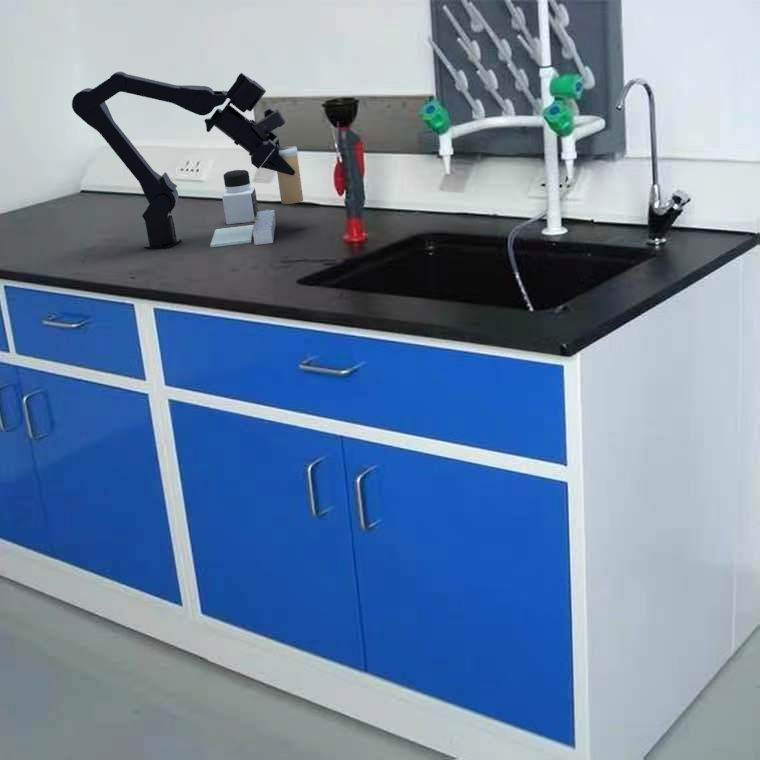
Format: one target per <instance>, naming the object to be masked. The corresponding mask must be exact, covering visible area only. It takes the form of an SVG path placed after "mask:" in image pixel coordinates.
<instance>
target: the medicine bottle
mask: <svg viewBox="0 0 760 760" xmlns="http://www.w3.org/2000/svg"><path fill="white" fill-rule="evenodd" d="M249 173H250V172H249V171H248V170H245V169H233V170H228V171H226V172H225V173H223V182H224V188H225V191H224V192H223V194H222V196H221V197H222V204H223V210H224V217H225V224H226V225H235V224H236V225H237V224H244V223H245V224H246V223H247V224H248V223H253V222H254V223H255V220H256V215H257V212H259V208H258V207H259V206H258V201H257V194H256V193H257V192H256V188H255V186H251V181H250V174H249Z"/></svg>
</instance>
